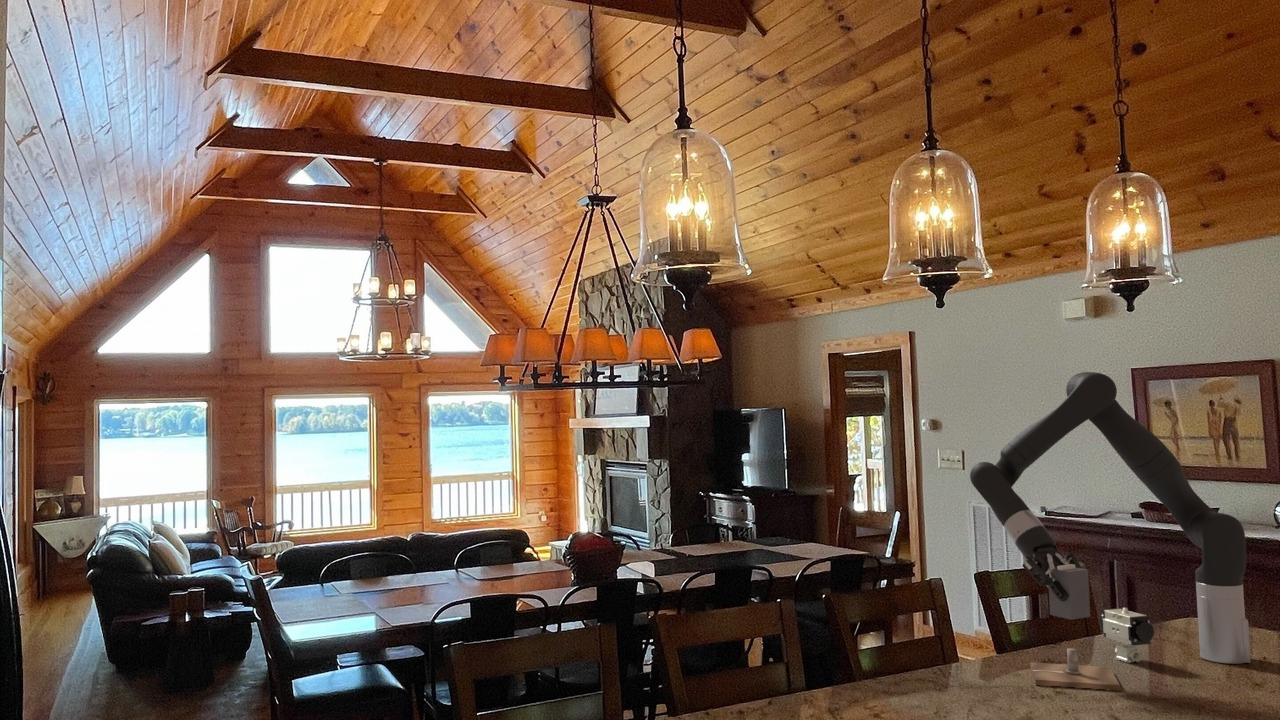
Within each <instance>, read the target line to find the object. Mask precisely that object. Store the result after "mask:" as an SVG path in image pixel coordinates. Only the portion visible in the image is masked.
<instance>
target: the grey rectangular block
mask: <svg viewBox="0 0 1280 720" xmlns="http://www.w3.org/2000/svg"><path fill="white" fill-rule="evenodd" d="M1053 574H1054V575H1055V576H1056V578H1057V581H1056V582H1058V581H1059V582H1060V584H1061V585H1062V587H1063V588H1064V589H1065V591H1066V592H1067V593H1068V595H1069V596H1068V598H1067V599H1066V600H1065V601H1060V600H1059V598H1057V597H1056V595H1055V594H1054V592H1053V591H1052V590H1051V588H1049V587H1048V597H1049V598H1048V601H1049V615H1050V616H1054V617H1058V618H1062V619H1066V620H1071V621H1073V620H1077V619H1079V620H1080V619H1085V618H1089V617H1091V607H1090V605H1091V603H1090V602H1091V601H1090V594H1089V592H1090V581H1089V569H1086V568H1082V567H1081V568H1076V567H1075V565H1074V564H1069V565H1061V566H1057V567H1056V568H1055V569H1053ZM1049 577H1050V576H1049Z"/></svg>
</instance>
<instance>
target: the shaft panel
mask: <svg viewBox="0 0 1280 720" xmlns="http://www.w3.org/2000/svg"><path fill="white" fill-rule="evenodd" d="M1066 658H1067V661H1066V662H1067V664H1063V663H1062V664H1061V663H1046V662H1032V661H1031V662H1030V669H1031V670H1030V671H1031V673H1033V674H1032V677H1033V681H1034V683H1035V684H1036V685H1040V686H1039V687H1051V686H1061V687H1060V688H1066V687H1075V688H1074V689H1081V688H1097V689H1109V690H1108V691H1111V690H1120V691H1121V685H1120V683H1119V681H1118V679H1117V678H1116V676H1115V674H1114V673H1113V671H1112V669H1111V667H1110V666H1099V665H1098V666H1097V665H1096V666H1095V665H1081V664H1080V665H1079V661H1078V660H1079V658H1078V649H1076V648H1073V647H1072V648H1067V649H1066ZM1036 685H1035V686H1036Z"/></svg>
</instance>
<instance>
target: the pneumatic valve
mask: <svg viewBox="0 0 1280 720" xmlns="http://www.w3.org/2000/svg"><path fill="white" fill-rule="evenodd" d="M1099 625H1100V628H1101V633H1103V637H1104V638H1107V639H1110V640H1113V641H1114V640H1115V641H1116V642H1117V643H1119V644H1116V645H1115V648H1114V649H1115V650H1114V653H1115V654H1116V657H1115V658H1116V660H1117V659H1118V661H1120V660H1121V662H1123V661H1124V663H1126V662H1127V663H1126V664H1131V663H1135V661H1136V663H1140V662H1141V653H1140V648H1139V647H1138V646H1145V645H1150V644H1151V641H1152V639H1153V638H1154V635H1155V629H1154V626H1153V625H1152V623H1151V622H1150V616H1149V615H1147V614H1143V613H1139V612H1134V611H1131V610H1128V607H1122V608H1110V609H1109V608H1108V609H1102V614H1101V615H1100V617H1099ZM1120 643H1123V644H1120Z"/></svg>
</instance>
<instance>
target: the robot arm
mask: <svg viewBox="0 0 1280 720" xmlns="http://www.w3.org/2000/svg"><path fill="white" fill-rule="evenodd" d="M1065 390H1066V398H1065V399H1064V400H1063V401H1062V402H1061V403H1060V404H1059V405H1058V406H1057V407H1056V408H1054V409H1053V410H1052V411H1050V412H1049V413H1048V414H1046V415H1045V416H1043V417H1041V418H1040V419H1039V420H1037V421H1035V422H1034V423H1032V424H1030V425H1029V426H1028V427H1025V429H1024V430H1022V431H1020V432H1019V434H1017V435H1016V436H1014V438H1013V439H1011V440H1010V441H1009V442H1008V443H1007V444H1006V445H1005V446H1004V447H1003V448H1002V449H1001V451H1000V459H999V460H998V461H997V462H996V463H995V464H994V463H992V462H989V461H981V462H978V463H975V464H974V466H973V467H972V468H971V470H970V473H969V477H970V481H971V482H970V483H971V484H972V486H973V487H974V488H975V489H976V491H977V492H978V493H979V495H981V497H982V498H983V499H984V501H985V502H986V503H987V504H988V506H990V509H991V510H992V512H993V513H994V515H995V516H996V518H997V519H998V521H999V522H1000V523H1001V525H1002V526H1003V528H1004V529H1005V531H1006V533H1007V535H1008V536H1009V538H1010V540H1011V541H1012V542H1013V543H1014V546H1016V547H1017V549H1018V551H1020V553H1021V555H1022V556H1023V557H1024V558H1025V561H1024V562H1023V563H1022V568H1024V570H1026V572H1027V573H1028V574H1029V575H1030V576H1031V578H1033V580H1034V581H1035V582H1036V583H1037V584H1038V585H1039V586H1040V587H1044V586H1046V588H1048V589H1049V588H1051V590H1052V591H1053V592H1054V594H1055V595H1056V597H1057V598H1059V600H1060V601H1065V600H1066V599H1067V598H1068V596H1069V595H1068V593H1067V592H1066V591H1065V589H1064V588H1063V587H1062V585H1061V584H1060V582H1059V581H1058V582H1056V581H1057V578H1056V576H1055V575H1054V574H1053V569H1055V568H1056V567H1057V566H1061V565H1069V564H1074V565H1075V567H1076V568H1082V566H1081V564H1080V563H1079V561H1078V559H1077V557H1076V556H1075V554H1073V553H1072V552H1069V553H1068V554H1063V553H1062V552H1060V551H1059V550H1058V549H1057V542H1056V540H1055V538H1054V537H1053V536H1052V535H1051V533H1050V532H1049V531H1048V529H1047V528H1046V527H1045V525H1043V523H1042V521H1041V520H1040V519H1039V518H1038V517H1037V515H1035V514H1034V513H1033V512H1032V510H1031V509H1030V508H1029V507H1028V506H1027V504H1026V502H1025V501H1024V500H1023V499H1022V498H1021V496H1019V495H1018V494H1017V493H1016V491H1015V490H1014V488H1013V486H1014V485H1015V483H1016V482H1017V481H1018V480H1019V478H1020V477H1021V475H1022V474H1023V473H1024V472H1025V471H1026V470H1027V469H1028V468H1029V467H1030V466H1031V465H1033V464H1034V463H1035V462H1036V461H1038V459H1040V458H1041V457H1043V455H1044V454H1045V453H1047V452H1048V451H1049V450H1050V449H1051V448H1052V447H1053V446H1054V445H1056V444H1057V443H1058V442H1060V440H1062V439H1063V438H1064V437H1065V436H1067V435H1069V433H1071V432H1072V431H1073V430H1075V429H1076V428H1077V427H1080V426H1081V424H1083V423H1085V422H1086V421H1090V423H1092V424H1093V425H1094V426H1095V427H1096V429H1098V430H1099V431H1100V433H1102V435H1103V436H1104V437H1105V439H1106V440H1107V442H1108V443H1109V444H1110V446H1111V447H1112V448H1113V449H1114V450H1115V451H1116V454H1118V456H1120V458H1121V459H1122V461H1123V462H1124V463H1125V464H1126V466H1127V467H1128V468H1129V470H1131V471H1132V472H1133V474H1134V475H1135V476H1136V477H1137V478H1138V479H1139V480H1140V482H1141V483H1143V484H1144V486H1146V488H1147V489H1148V490H1149V491H1150V493H1152V494H1153V496H1154V497H1156V499H1157V500H1158V501H1160V503H1161V504H1162V505H1163V506H1164V507H1165V508H1166V509H1167V510H1168V511H1169V513H1170V514H1171V515H1172V517H1173V519H1174V520H1175V521H1176V522H1177V525H1179V527H1180V528H1181V530H1182V531H1183V532H1184V534H1185V536H1187V538H1188V539H1189V540H1190V542H1192V544H1193V545H1195V546H1196V547H1198V548H1199V549H1201V550H1202V562H1201V565H1200V566H1199V567H1197V568H1196V570H1195V571H1194V574H1195V589H1196V606H1197V607H1196V608H1197V623H1198V625H1197V626H1198V627H1197V628H1198V640H1199V642H1198V643H1199V647H1198V649H1199V656H1200V658H1201V659H1204V660H1207V661H1210V662H1214V663H1220V664H1233V665H1234V664H1236V665H1237V664H1245V663H1246V664H1247V663H1248V664H1250V663H1251V662H1252V661H1251V660H1252V659H1251V649H1250V645H1251V644H1250V629H1249V621H1248V619H1247V618H1246V611H1245V598H1244V597H1245V596H1244V581H1243V580H1244V575H1245V573H1246V569H1247V543H1246V542H1247V541H1246V533H1245V529H1244V527H1243V525H1242V523H1241V522H1240V521H1239V520H1238V518H1236V517H1234V516H1233V515H1230V514H1227V513H1223V512H1217V511H1215V510H1214V509H1213V508H1211V506H1209V505H1208V504H1207V503H1206V502H1205V501H1204V500H1203V499H1202V498H1200V496H1199V495H1198V494H1197V493H1196V491H1194V489H1193V488H1192V487H1191V485H1190V483H1189V482H1190V481H1188V478H1187V476H1186V474H1185V471H1184V468H1183V466H1182V465H1181V463H1180V462H1179V460H1178V458H1177V457H1176V456H1175V455H1174V453H1173V452H1172V451H1171V450H1170V449H1169V448H1168V447H1167V446H1166V445H1165V443H1164V442H1163V441H1162V440H1161V439H1160V438H1159V437H1158V436H1156V435H1155V434H1154V433H1153V432H1152V431H1150V430H1149V429H1148V428H1147V427H1145V426H1144V425H1142V423H1140V421H1137V420H1136V419H1135V418H1134V417H1132V416H1131V415H1130V414H1129V413H1127V411H1126V410H1125V409H1124V408H1123V407H1122V406H1121V404H1120V403H1119V402H1118V401H1117V399H1116V398H1117V393H1118V391H1117V390H1118V389H1117V385H1116V382H1115V381H1114V380H1113V379H1112V378H1111V377H1110V376H1108V375H1106V374H1104V373H1100V372H1094V371H1085V372H1079V373H1076V374H1074V375H1073V376H1071V377H1070V379H1068V381H1067V384H1066V389H1065ZM1038 575H1040V576H1038ZM1049 576H1050V577H1049ZM1040 577H1041V578H1040ZM1090 593H1091V591H1089V595H1090Z"/></svg>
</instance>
